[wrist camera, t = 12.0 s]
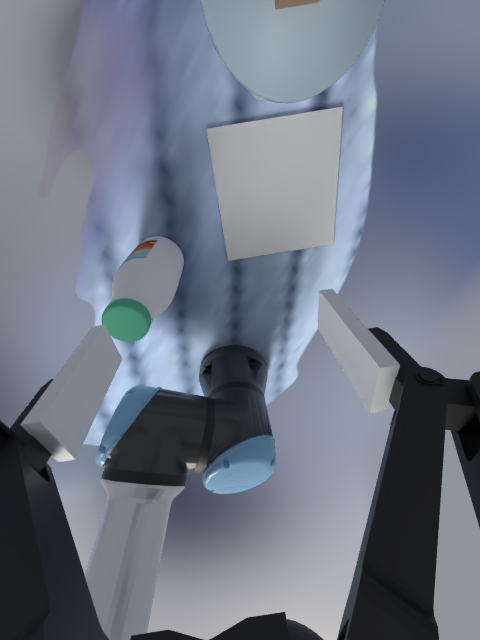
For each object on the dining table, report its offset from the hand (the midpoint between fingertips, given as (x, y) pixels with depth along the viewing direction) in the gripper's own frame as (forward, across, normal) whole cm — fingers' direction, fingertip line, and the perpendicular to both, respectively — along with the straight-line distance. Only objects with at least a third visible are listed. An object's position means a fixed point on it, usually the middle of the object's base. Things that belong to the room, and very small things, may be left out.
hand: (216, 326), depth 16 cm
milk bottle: (+29, +10, +4) cm, 31 cm away
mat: (+29, -10, -3) cm, 31 cm away
